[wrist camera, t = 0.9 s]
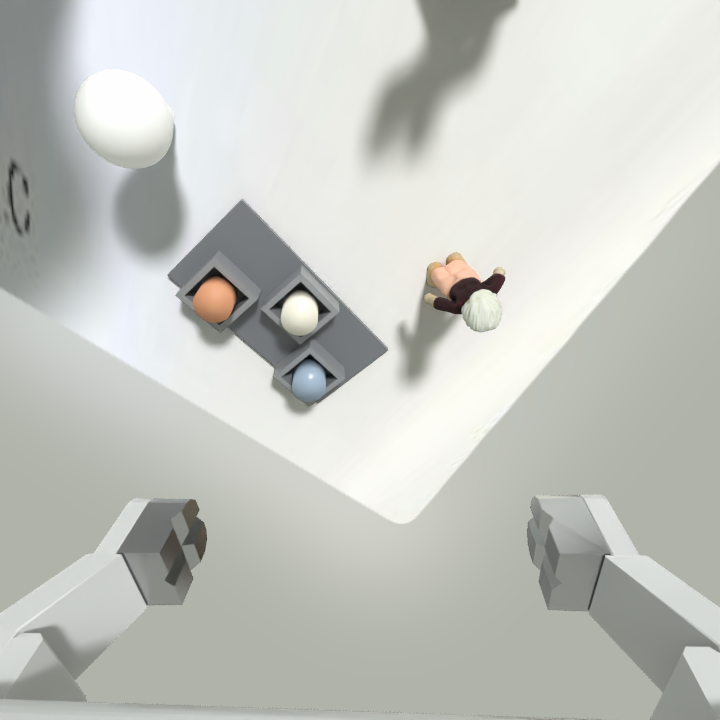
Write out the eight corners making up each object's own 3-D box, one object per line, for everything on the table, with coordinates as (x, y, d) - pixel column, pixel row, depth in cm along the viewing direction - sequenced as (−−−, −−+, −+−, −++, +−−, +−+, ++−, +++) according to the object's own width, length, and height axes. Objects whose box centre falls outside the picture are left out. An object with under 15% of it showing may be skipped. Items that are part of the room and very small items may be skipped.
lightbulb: (128, 60, 36) (58, 48, 26) (205, 92, 37) (164, 92, 28) (119, 138, 38) (53, 153, 29) (191, 166, 40) (150, 188, 31)
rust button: (192, 292, 44) (184, 304, 41) (216, 268, 43) (209, 280, 40) (221, 316, 46) (214, 329, 43) (244, 294, 44) (240, 306, 42)
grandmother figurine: (427, 301, 48) (457, 361, 38) (410, 273, 47) (435, 328, 36) (491, 262, 47) (541, 313, 36) (475, 232, 45) (523, 276, 34)
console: (168, 273, 45) (159, 284, 42) (242, 198, 42) (236, 205, 39) (318, 400, 54) (317, 416, 52) (387, 347, 51) (390, 361, 48)
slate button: (286, 372, 50) (284, 387, 47) (310, 353, 48) (309, 368, 46) (309, 391, 51) (308, 407, 49) (332, 373, 50) (332, 388, 47)
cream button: (275, 305, 45) (272, 318, 43) (301, 283, 44) (299, 294, 42) (300, 328, 47) (299, 342, 44) (325, 307, 46) (325, 320, 43)
